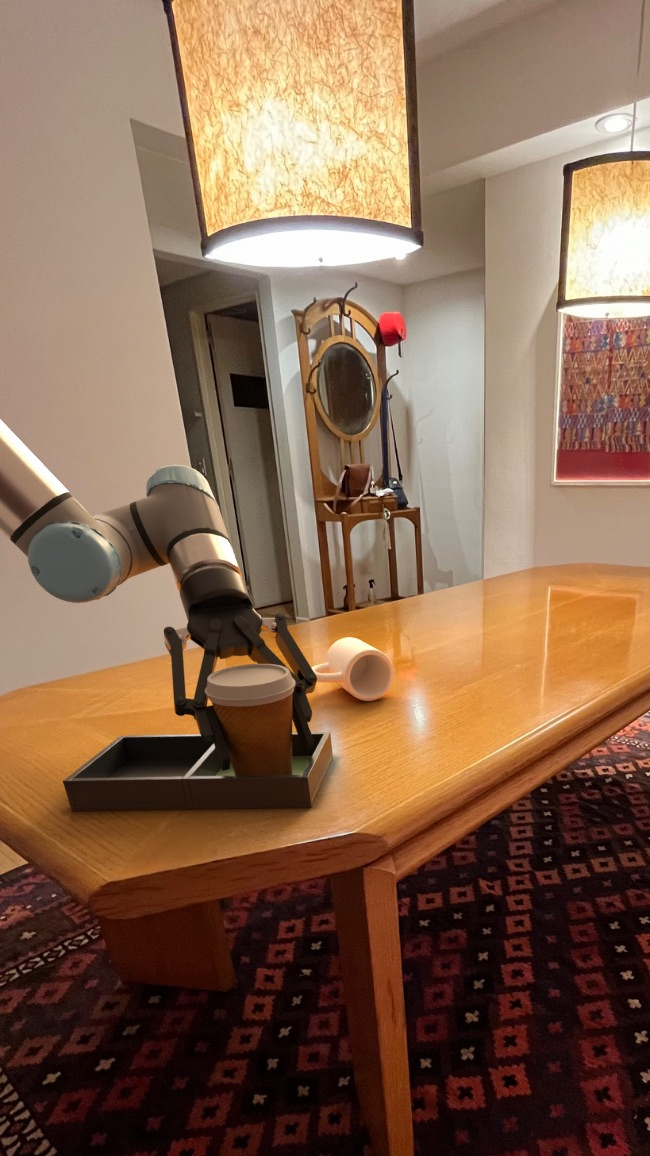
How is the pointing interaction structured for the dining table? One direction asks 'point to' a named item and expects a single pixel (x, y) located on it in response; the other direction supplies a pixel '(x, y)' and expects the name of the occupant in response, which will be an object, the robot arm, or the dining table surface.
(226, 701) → the disposable coffee cup
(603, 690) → the dining table surface
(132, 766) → the caddy
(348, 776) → the dining table surface
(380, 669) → the mug
